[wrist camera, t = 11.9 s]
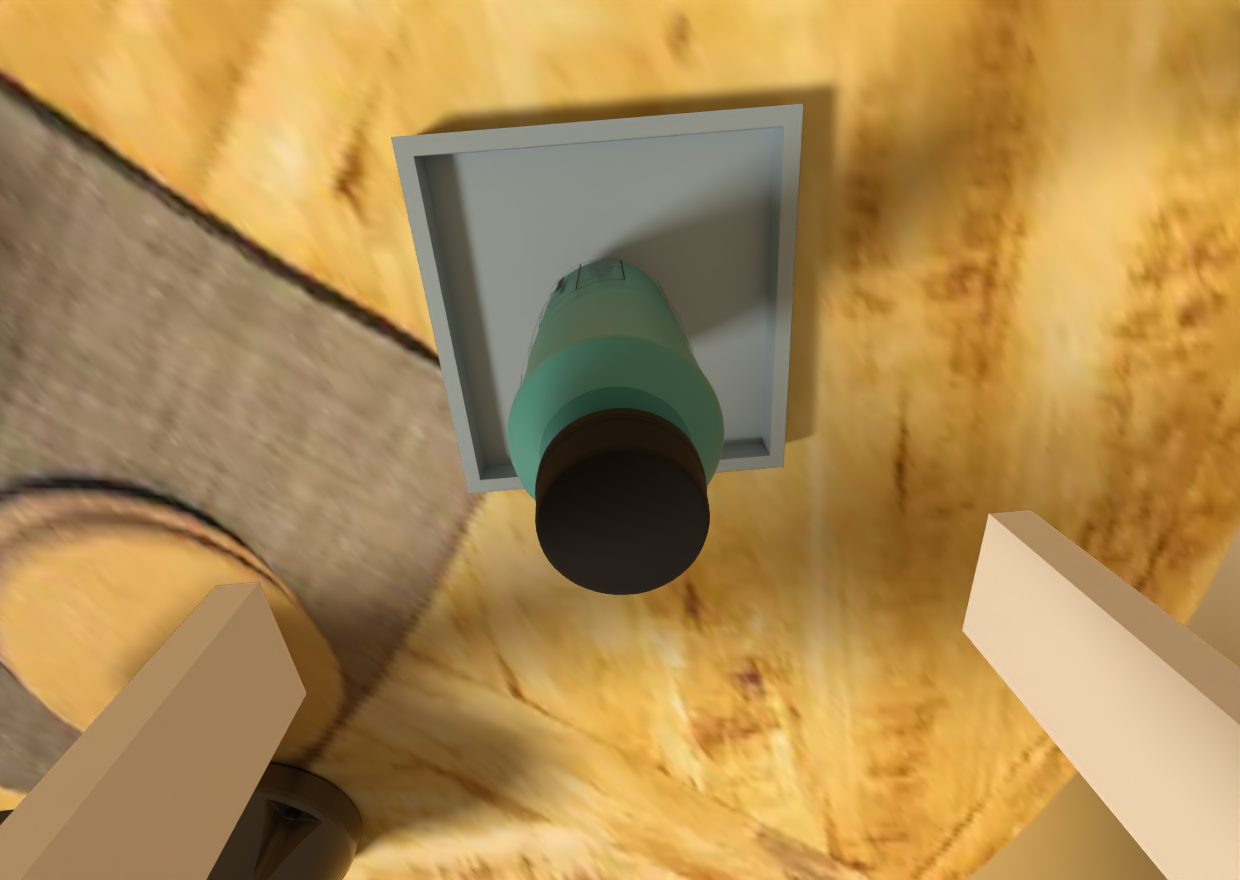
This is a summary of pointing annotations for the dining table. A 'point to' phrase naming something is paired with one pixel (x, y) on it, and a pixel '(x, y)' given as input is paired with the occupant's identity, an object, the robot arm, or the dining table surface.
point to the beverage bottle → (615, 433)
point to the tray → (610, 255)
